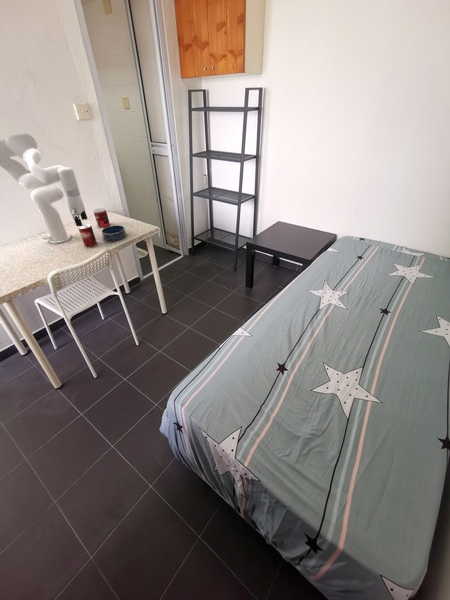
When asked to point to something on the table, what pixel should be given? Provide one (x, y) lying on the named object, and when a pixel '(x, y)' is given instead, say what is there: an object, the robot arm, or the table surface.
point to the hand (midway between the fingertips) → (82, 222)
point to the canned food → (101, 217)
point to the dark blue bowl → (113, 233)
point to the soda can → (87, 235)
